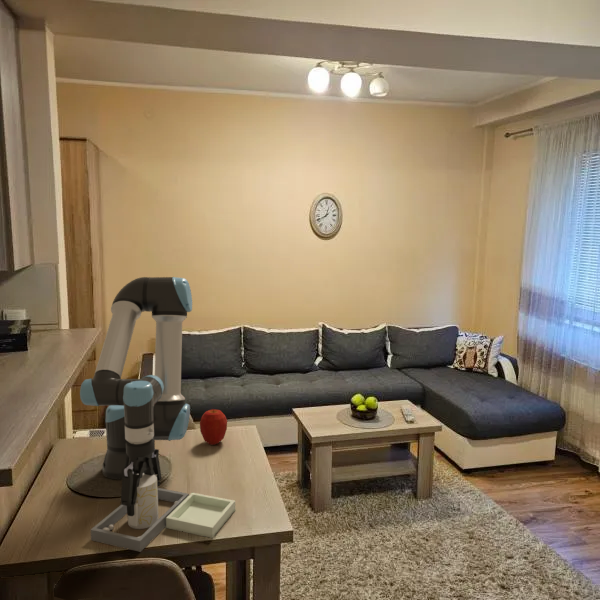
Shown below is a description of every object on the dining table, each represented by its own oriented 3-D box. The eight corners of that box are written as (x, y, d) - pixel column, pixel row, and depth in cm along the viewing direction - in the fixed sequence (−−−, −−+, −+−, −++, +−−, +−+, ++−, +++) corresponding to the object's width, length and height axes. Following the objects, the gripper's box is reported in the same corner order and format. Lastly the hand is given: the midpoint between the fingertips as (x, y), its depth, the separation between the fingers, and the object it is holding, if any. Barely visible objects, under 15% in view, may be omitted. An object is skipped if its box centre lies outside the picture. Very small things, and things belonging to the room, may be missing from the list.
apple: (226, 448, 190) (226, 412, 188) (198, 449, 189) (198, 412, 187) (228, 436, 200) (227, 402, 198) (201, 437, 199) (201, 402, 197)
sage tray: (166, 528, 141) (166, 517, 140) (192, 501, 154) (192, 492, 153) (212, 538, 136) (212, 527, 136) (235, 510, 150) (235, 500, 149)
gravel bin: (91, 540, 135) (90, 529, 135) (145, 494, 158) (145, 485, 157) (140, 551, 131) (140, 541, 130) (189, 503, 153) (188, 493, 153)
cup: (129, 531, 139) (127, 490, 137) (126, 515, 146) (124, 476, 144) (160, 524, 142) (159, 484, 140) (156, 509, 149) (154, 470, 148)
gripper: (127, 457, 129) (131, 540, 133) (173, 426, 149) (175, 499, 153) (102, 452, 132) (107, 534, 135) (150, 422, 151) (153, 495, 155)
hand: (143, 516), depth 144 cm, fingers closed on cup, 8 cm apart
